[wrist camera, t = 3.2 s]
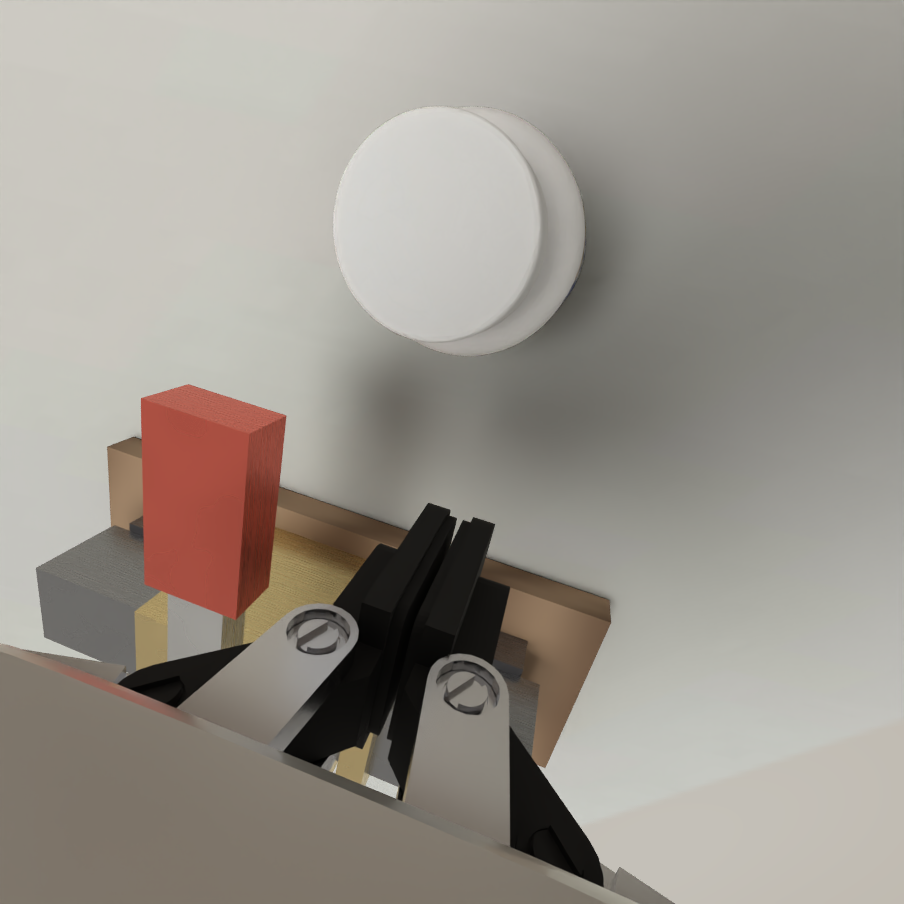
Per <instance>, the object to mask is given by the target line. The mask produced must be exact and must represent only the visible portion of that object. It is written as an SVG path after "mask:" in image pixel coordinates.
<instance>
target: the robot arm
mask: <svg viewBox="0 0 904 904" xmlns="http://www.w3.org/2000/svg"><path fill="white" fill-rule="evenodd" d="M456 520H457V518H455V517H452V516H450V510H449V509H446V508H443V507H440V506H437V505H434V504H430V503H428V504H427V506H426V507H425V508H424V510H423V511H422V513H421V514H420V516H419V517H418V519H417V520H416V522H415V523H414V525H413V526H412V528H411V529H410V531H409V532H408V534H407V535H406V537H405V538H404V540H403V541H402V543H401V544H400V546H399V547H398V549H396V548H393V547H390V546H387V545H384V544H382V543H380V544H378V545H377V546H376V547H375V549H374V550H373V551H372V553H371V554H370V555H369V557H368V558H367V559H366V561H365V562H364V563H363V565H362V566H361V567H360V569H359V570H358V571H357V573H356V574H355V575H354V577H353V578H352V579H351V581H350V582H349V583H348V585H347V586H346V587H345V589H344V590H343V591H342V593H341V594H340V595H339V597H338V598H337V599H336V601H335V602H334V603H333V605H330V604H322V603H316V604H307V605H304V606H301V607H298V608H295V609H294V610H292V611H291V612H289V613H287V614H286V615H285V616H284V617H282V618H281V619H280V620H279V621H278V622H277V623H275V624H274V625H273V626H272V627H271V628H270V629H268V630H267V631H266V632H265V633H264V634H263V635H261V636H260V637H259V638H258V639H257V640H256V641H254V642H252V643H247V644H243V645H238V646H234V647H230V648H225V649H221V650H216V651H212V652H208V653H203V654H199V655H194V656H190V657H186V658H181V659H177V660H172V661H168V662H164V663H159V664H155V665H151V666H148V667H145V668H142V669H139V670H137V671H135V672H134V673H132V674H130V673H126V666H124V665H118V664H111V663H105V662H99V661H92V660H86V659H80V658H74V657H67V656H61V655H55V654H48V653H42V652H36V651H29V650H23V649H19V648H16V647H13V646H9V645H5V644H1V643H0V904H675V903H673V902H672V901H670V900H668V899H667V898H666V897H664V896H663V895H661V894H660V893H658V892H657V891H655V890H654V889H652V888H651V887H649V886H648V885H646V884H645V883H643V882H642V881H640V880H639V879H637V878H636V877H634V876H633V875H631V874H630V873H628V872H627V871H625V870H624V869H622V868H621V867H619V869H618V871H617V872H616V873H615V872H613V871H612V870H610V869H609V868H607V867H606V866H604V865H603V864H601V863H600V862H599V858H598V856H597V854H596V852H595V850H594V848H593V847H592V845H591V843H590V841H589V840H588V838H587V836H586V835H585V834H584V832H583V831H582V829H581V828H580V826H579V825H578V823H577V822H576V821H575V819H574V818H573V816H572V815H571V813H570V812H569V811H568V809H567V808H566V806H565V805H564V803H563V802H562V800H561V799H560V798H559V796H558V795H557V793H556V792H555V790H554V789H553V787H552V786H551V785H550V783H549V782H548V780H547V779H546V777H545V776H544V774H543V773H542V772H541V770H540V769H539V767H538V766H537V764H536V763H535V761H534V760H533V759H532V757H531V756H530V754H529V753H528V751H527V750H526V748H525V747H524V746H523V744H522V743H521V741H520V740H519V738H518V737H517V735H516V734H515V733H514V731H513V730H512V728H511V727H510V725H509V693H508V688H507V684H506V683H505V681H504V679H503V677H502V675H501V674H500V673H499V672H498V671H497V670H496V669H495V668H494V667H493V666H492V664H493V660H494V656H495V652H496V647H497V643H498V639H499V635H500V630H501V626H502V622H503V618H504V613H505V609H506V605H507V600H508V596H509V592H510V586H507V585H504V584H501V583H498V582H495V581H492V580H489V579H486V578H483V577H480V575H481V572H482V569H483V565H484V562H485V558H486V555H487V551H488V548H489V544H490V541H491V537H492V534H493V530H494V527H495V524H493V523H490V522H487V521H484V520H481V519H478V518H475V517H473V519H472V521H471V522H467V521H464V520H463V521H462V523H461V525H460V527H459V530H458V532H457V534H456V536H455V538H454V540H453V542H452V544H451V541H452V537H453V533H454V529H455V525H456ZM450 545H451V546H450ZM395 699H396V700H395ZM394 702H395V704H394ZM393 704H394V708H393V713H392V717H391V721H390V725H389V730H388V734H387V739H388V740H390V741H392V742H391V746H390V750H389V754H388V761H389V763H390V766H391V768H392V770H393V772H394V774H395V777H396V779H397V781H398V783H399V787H398V791H397V795H396V799H395V798H393V797H390V796H388V795H385V794H383V793H381V792H378V791H376V790H373V789H371V788H369V787H366V786H364V785H361V784H359V783H357V782H354V781H352V780H349V779H347V778H344V777H342V776H340V775H337V774H335V773H332V772H330V769H331V768H332V766H333V764H334V762H335V760H336V756H337V753H338V752H341V751H344V750H346V749H349V748H352V747H357V748H360V749H363V747H364V745H365V743H366V741H367V738H368V736H369V734H370V733H373V734H375V735H378V736H379V735H380V733H381V731H382V729H383V727H384V724H385V722H386V720H387V717H388V715H389V713H390V711H391V708H392V706H393Z"/></svg>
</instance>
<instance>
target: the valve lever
mask: <svg viewBox="0 0 904 904" xmlns="http://www.w3.org/2000/svg"><path fill="white" fill-rule="evenodd" d="M285 424H286V415H283V414H280V413H276V412H273V411H270V410H267V409H264V408H261V407H258V406H255V405H251V404H248V403H245V402H242V401H239V400H236V399H233V398H230V397H226V396H223V395H220V394H217V393H214V392H211V391H208V390H205V389H201V388H198V387H195V386H192V385H189V384H188V385H184V386H181V387H178V388H174V389H171V390H167V391H164V392H161V393H157V394H154V395H151V396H147V397H144V398H141V428H142V480H143V532H144V584H145V585H147V586H150V587H152V588H155V589H157V590H160V591H162V592H165V593H168V649H167V662H168V661H172V660H177V659H181V658H186V657H190V656H194V655H199V654H203V653H208V652H212V651H216V650H221V649H225V648H230V647H234V646H238V645H243V638H244V625H245V613H246V609H247V608H248V607H249V606H250V605H251V604H252V603H253V602H254V601H255V600H256V599H257V598H258V597H259V596H260V595H261V594H262V593H263V592H264V591H265V590H266V589H267V588H268V587H269V580H270V570H271V561H272V551H273V541H274V531H275V521H276V512H277V502H278V492H279V482H280V473H281V463H282V453H283V443H284V433H285Z"/></svg>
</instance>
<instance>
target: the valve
mask: <svg viewBox="0 0 904 904" xmlns="http://www.w3.org/2000/svg"><path fill="white" fill-rule="evenodd" d="M129 528H130V531H129V530H127V529H124V528H121V527H119V526H116V525H114V526H112V527H110V528H108V529H106V530H105V531H103V532H101V533H99V534H97V535H96V536H94V537H92V538H90V539H88V540H86V541H85V542H83V543H81V544H79V545H77V546H75V547H74V548H72V549H70V550H68V551H66V552H64V553H63V554H61V555H59V556H57V557H55V558H53V559H52V560H50V561H48V562H46V563H44V564H42V565H41V566H39V567H37V568H36V572H37V581H38V589H39V597H40V605H41V613H42V621H43V629H44V637H45V638H47V639H50V640H52V641H54V642H57V643H59V644H62V645H64V646H66V647H69V648H71V649H73V650H76V651H78V652H81V653H83V654H85V655H88V656H90V657H92V658H95V659H97V660H99V661H102V662H105V663H111V664H118V665H124V666H126V672H128V673H130V674H132V673H134V672H135V671H137V670H139V669H142V668H145V667H148V666H151V665H155V664H159V663H164V662H167V649H168V593H165V592H162V591H160V590H157V589H155V588H152V587H150V586H147V585H145V584H144V532H143V516H141V517H140V518H138V519H136V520H134V521H132V522H131V523H129ZM365 561H366V559H364V558H361V557H359V556H356V555H353V554H350V553H347V552H345V551H342V550H339V549H336V548H333V547H330V546H328V545H325V544H322V543H319V542H316V541H314V540H311V539H308V538H305V537H302V536H300V535H297V534H294V533H291V532H288V531H286V530H283V529H280V528H277V527H275V531H274V541H273V551H272V561H271V570H270V580H269V587H268V588H267V589H266V590H265V591H264V592H263V593H262V594H261V595H260V596H259V597H258V598H257V599H256V600H255V601H254V602H253V603H252V604H251V605H250V606H249V607H248V608H247V609H246V613H245V625H244V638H243V644H247V643H252V642H254V641H256V640H257V639H258V638H259V637H260V636H261V635H263V634H264V633H265V632H266V631H267V630H268V629H270V628H271V627H272V626H273V625H274V624H275V623H277V622H278V621H279V620H280V619H281V618H282V617H284V616H285V615H286V614H287V613H289V612H291V611H292V610H294V609H295V608H298V607H301V606H304V605H307V604H316V603H322V604H330V605H333V603H334V602H335V601H336V599H337V598H338V597H339V595H340V594H341V593H342V591H343V590H344V589H345V587H346V586H347V585H348V583H349V582H350V581H351V579H352V578H353V577H354V575H355V574H356V573H357V571H358V570H359V569H360V567H361V566H362V565H363V563H364V562H365ZM527 643H528V641H526V640H523V639H521V638H518V637H515V636H512V635H510V634H507V633H504V632H501V631H500V635H499V639H498V643H497V647H496V652H495V656H494V660H493V664H492V666H493V667H494V668H495V669H496V670H497V671H498V672H499V673H500V674H501V675H502V677H503V679H504V681H505V683H506V684H507V688H508V693H509V725H510V727H511V728H512V730H513V731H514V733H515V734H516V735H517V737H518V738H519V740H520V741H521V743H522V744H523V746H524V747H525V748H526V750H527V751H528V753H529V754H530V756H531V757H532V749H533V741H534V732H535V723H536V714H537V705H538V696H539V687H540V684H537V683H534V682H532V681H529V680H526V679H524V678H521V675H522V672H523V668H524V662H525V656H526V649H527ZM395 700H396V699H395ZM394 704H395V702H394ZM394 704H393V706H392V708H391V711H390V713H389V715H388V717H387V720H386V722H385V724H384V727H383V729H382V731H381V733H380V735H379V736H378V735H375V734H373V733H370V734H369V736H368V738H367V741H366V743H365V745H364V747H363V749H360V748H357V747H352V748H349V749H346V750H344V751H341V752H338V753H337V756H336V760H335V762H334V764H333V766H332V768H331V769H330V772H332V773H333V771H334V769H335V767H336V765H337V763H338V765H337V769H336V774H337V775H340V776H342V777H344V778H347V779H349V780H352V781H354V782H357V783H359V784H361V785H364V786H365V785H366V782H367V780H368V777H369V775H371V776H374V777H376V778H378V779H381V780H383V781H386V782H388V783H390V784H393V785H395V786H397V787H399V783H398V781H397V779H396V777H395V774H394V772H393V770H392V768H391V766H390V763H389V761H388V754H389V750H390V746H391V742H392V741H390V740H388V739H387V734H388V730H389V725H390V721H391V717H392V713H393V708H394Z"/></svg>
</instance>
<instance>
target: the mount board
mask: <svg viewBox="0 0 904 904" xmlns="http://www.w3.org/2000/svg"><path fill="white" fill-rule="evenodd" d="M107 451H108V471H109V492H110V512H111V527H112V526H114V525H116V526H119V527H121V528H124V529H127V530H129V531H130V528H129V523H131V522H132V521H134V520H136V519H138V518H140V517H141V516H143V480H142V440H141V439H138V438H135V437H132V438H129V439H127V440H124V441H121V442H119V443H116V444H113V445H111V446H108V447H107ZM275 527H277V528H280V529H283V530H286V531H288V532H291V533H294V534H297V535H300V536H302V537H305V538H308V539H311V540H314V541H316V542H319V543H322V544H325V545H328V546H330V547H333V548H336V549H339V550H342V551H345V552H347V553H350V554H353V555H356V556H359V557H361V558H364V559H367V558H368V557H369V555H370V554H371V553H372V551H373V550H374V549H375V547H376V546H377V545H378V544H380V543H382V544H384V545H387V546H390V547H393V548H396V549H398V547H399V546H400V544H401V543H402V541H403V540H404V538H405V537H406V535H407V534H408V532H409V531H406V530H403V529H400V528H397V527H394V526H391V525H389V524H386V523H383V522H380V521H377V520H374V519H371V518H368V517H365V516H362V515H359V514H356V513H354V512H351V511H348V510H345V509H342V508H339V507H336V506H333V505H330V504H327V503H324V502H321V501H319V500H316V499H313V498H310V497H307V496H304V495H301V494H298V493H295V492H292V491H289V490H287V489H284V488H281V487H279V492H278V502H277V512H276V521H275ZM480 577H483V578H486V579H489V580H492V581H495V582H498V583H501V584H504V585H507V586H510V592H509V596H508V600H507V605H506V609H505V613H504V618H503V622H502V626H501V630H500V631H501V632H504V633H507V634H510V635H512V636H515V637H518V638H521V639H523V640H526V641H528V643H527V649H526V656H525V662H524V668H523V672H522V675H521V678H524V679H526V680H529V681H532V682H534V683H537V684H540V687H539V696H538V705H537V714H536V723H535V732H534V741H533V749H532V759H533V760H534V761H535V763H536V764H537V765H539V766H542V767H544V768H545V767H546V765H547V763H548V761H549V759H550V756H551V754H552V752H553V750H554V747H555V745H556V743H557V741H558V739H559V736H560V734H561V732H562V730H563V728H564V725H565V723H566V721H567V719H568V717H569V714H570V712H571V710H572V708H573V705H574V703H575V701H576V699H577V697H578V694H579V692H580V690H581V688H582V686H583V683H584V681H585V679H586V677H587V675H588V672H589V670H590V668H591V666H592V664H593V661H594V659H595V657H596V655H597V652H598V650H599V648H600V646H601V644H602V641H603V639H604V637H605V635H606V633H607V630H608V628H609V626H610V624H611V616H610V602H609V600H607V599H604V598H601V597H598V596H595V595H592V594H590V593H587V592H584V591H581V590H578V589H575V588H572V587H569V586H566V585H563V584H560V583H557V582H555V581H552V580H549V579H546V578H543V577H540V576H537V575H534V574H531V573H528V572H525V571H523V570H520V569H517V568H514V567H511V566H508V565H505V564H502V563H499V562H496V561H493V560H490V559H488V558H485V562H484V565H483V569H482V572H481V575H480Z"/></svg>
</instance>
